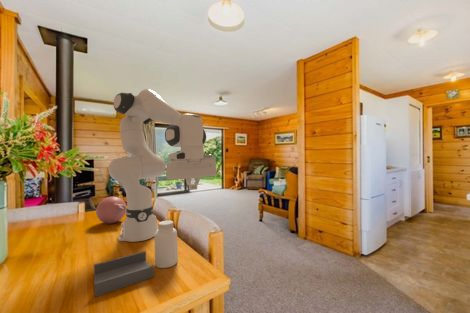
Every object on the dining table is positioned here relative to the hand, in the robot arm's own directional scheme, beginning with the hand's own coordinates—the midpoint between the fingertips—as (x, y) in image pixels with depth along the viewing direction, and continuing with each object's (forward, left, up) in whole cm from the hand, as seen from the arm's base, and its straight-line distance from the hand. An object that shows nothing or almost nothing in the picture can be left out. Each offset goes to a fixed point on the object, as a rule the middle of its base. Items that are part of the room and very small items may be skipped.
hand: (193, 189), depth 82 cm
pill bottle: (0, -11, -26) cm, 28 cm away
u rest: (0, -25, -26) cm, 36 cm away
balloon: (-63, -23, -26) cm, 72 cm away
